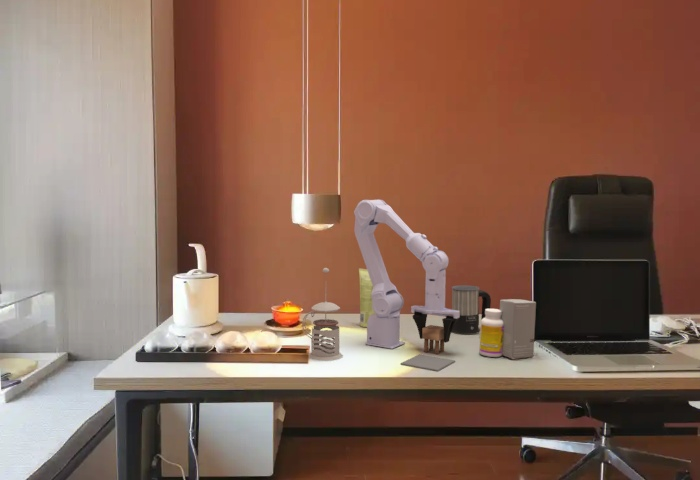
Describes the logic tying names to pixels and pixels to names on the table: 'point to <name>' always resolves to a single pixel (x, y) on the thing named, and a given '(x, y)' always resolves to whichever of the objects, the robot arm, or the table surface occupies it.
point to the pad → (428, 362)
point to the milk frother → (468, 308)
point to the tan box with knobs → (433, 338)
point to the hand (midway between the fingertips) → (434, 339)
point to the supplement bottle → (491, 333)
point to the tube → (365, 297)
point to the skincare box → (518, 327)
